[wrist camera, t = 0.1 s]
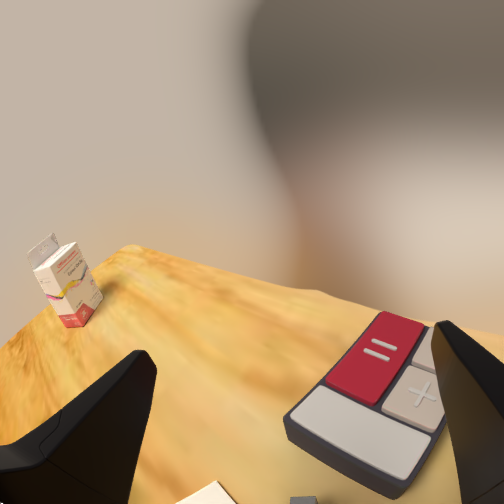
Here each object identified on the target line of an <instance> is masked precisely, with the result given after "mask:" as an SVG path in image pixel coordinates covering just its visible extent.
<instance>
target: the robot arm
mask: <svg viewBox="0 0 504 504" xmlns="http://www.w3.org/2000/svg"><path fill="white" fill-rule="evenodd" d="M431 352H432V356H433V361H434V366H435V371H436V377H437V382H438V388H439V393H440V397H441V401H442V405H443V408H444V412H445V416H446V420H447V424H448V428H449V432H450V437H451V441H452V446H453V451H454V456H455V461H456V467H457V473H458V479H459V485H460V493H461V501H462V504H504V364H503V363H502V362H501V361H500V360H498V359H497V358H496V357H495V356H494V355H492V354H491V353H490V352H489V351H487V350H486V349H485V348H484V347H483V346H481V345H480V344H479V343H477V342H476V341H475V340H474V339H472V338H471V337H470V336H469V335H467V334H466V333H465V332H463V331H462V330H461V329H460V328H458V327H457V326H456V325H454V324H453V323H452V322H450V321H448V320H446V321H441V322H437V323H436V324H435V326H434V330H433V335H432V339H431ZM156 375H157V368H156V365H155V364H154V362H153V360H152V359H151V357H150V356H149V354H148V353H147V352H146V351H145V350H134V351H132V352H131V353H130V354H129V355H128V356H126V357H125V358H124V359H123V360H121V361H120V362H119V363H118V364H116V365H115V366H114V367H113V368H111V369H110V370H109V371H108V372H106V373H105V374H104V375H103V376H102V377H100V378H99V379H98V380H97V381H95V382H94V383H93V384H92V385H90V386H89V387H88V388H87V389H85V390H84V391H83V392H82V393H80V394H79V395H78V396H77V397H75V398H74V399H73V400H72V401H71V402H69V403H68V404H67V405H66V406H64V407H63V408H62V409H61V410H59V411H58V412H57V413H56V414H54V415H53V416H52V417H50V418H49V419H48V420H47V421H45V422H44V423H42V424H41V425H40V426H38V427H37V428H35V429H34V430H32V431H31V432H29V433H28V434H26V435H25V436H23V437H22V438H20V439H19V440H17V441H16V442H14V443H12V444H9V445H3V446H0V504H128V500H129V495H130V491H131V486H132V482H133V478H134V473H135V469H136V465H137V461H138V457H139V453H140V449H141V445H142V441H143V437H144V433H145V429H146V425H147V422H148V418H149V414H150V410H151V405H152V399H153V392H154V387H155V381H156Z"/></svg>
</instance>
